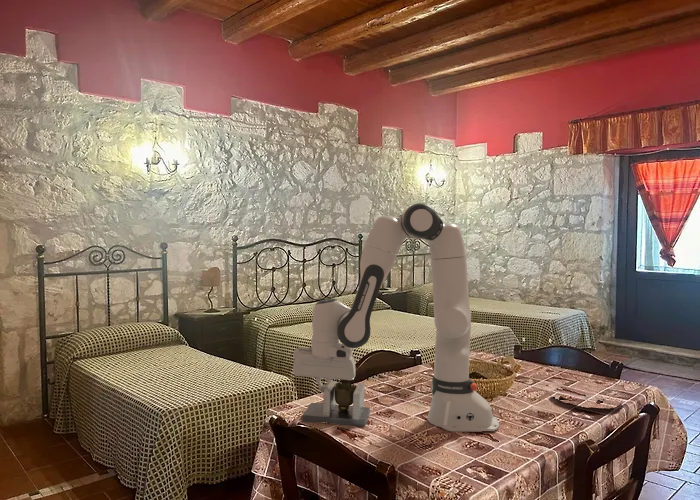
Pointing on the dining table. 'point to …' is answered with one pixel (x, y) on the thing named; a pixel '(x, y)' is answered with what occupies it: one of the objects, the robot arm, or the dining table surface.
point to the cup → (344, 395)
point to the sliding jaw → (329, 399)
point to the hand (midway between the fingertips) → (323, 391)
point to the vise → (353, 416)
